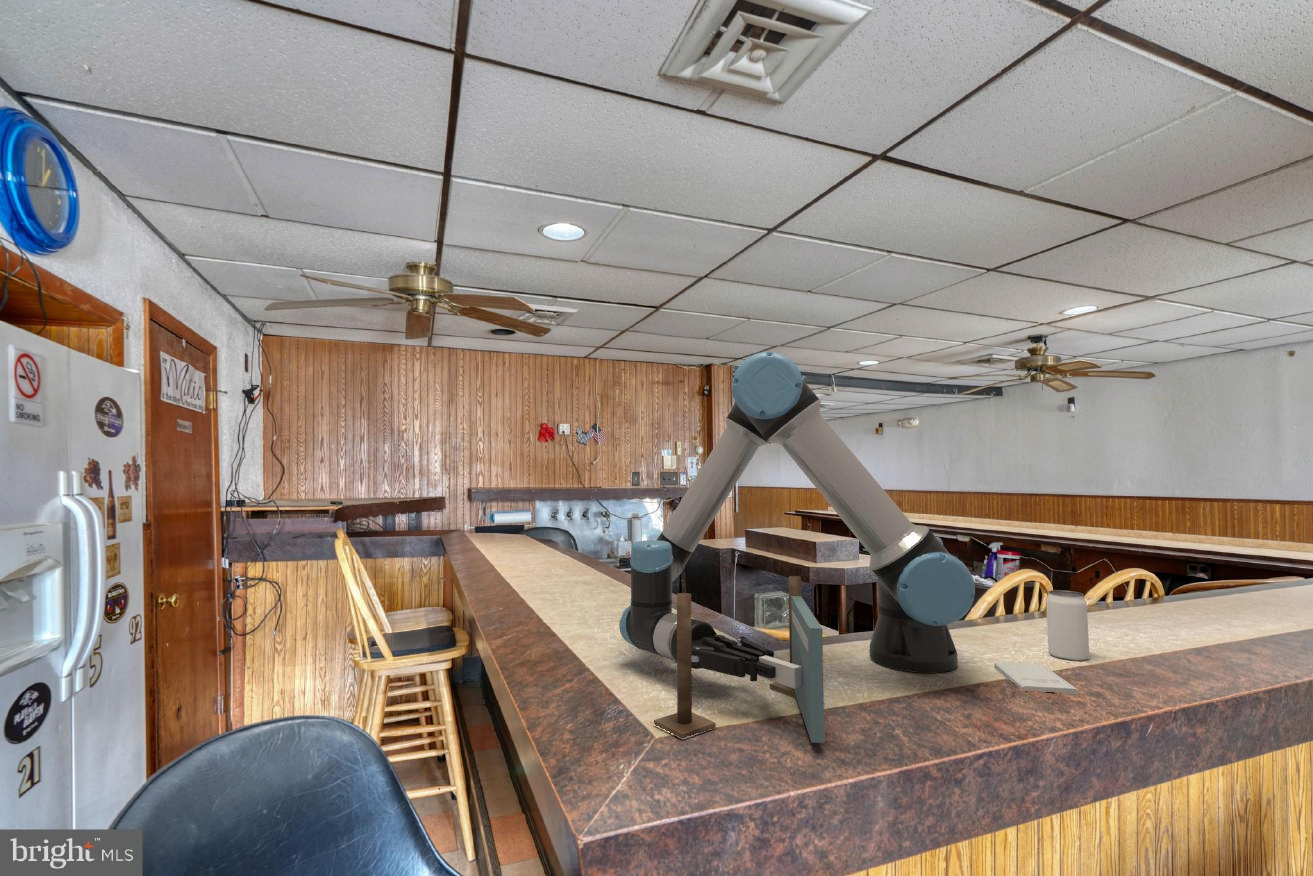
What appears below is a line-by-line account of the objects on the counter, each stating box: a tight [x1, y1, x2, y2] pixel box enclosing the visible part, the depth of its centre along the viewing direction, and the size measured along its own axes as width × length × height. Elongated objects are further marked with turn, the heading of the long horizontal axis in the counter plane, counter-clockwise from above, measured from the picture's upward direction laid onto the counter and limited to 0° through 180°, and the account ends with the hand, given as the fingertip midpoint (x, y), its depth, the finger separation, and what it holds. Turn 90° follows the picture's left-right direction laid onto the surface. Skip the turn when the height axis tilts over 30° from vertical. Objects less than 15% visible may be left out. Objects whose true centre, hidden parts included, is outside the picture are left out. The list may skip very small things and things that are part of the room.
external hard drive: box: [994, 661, 1080, 695], centre depth 102 cm, size 2×8×12 cm
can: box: [1045, 589, 1090, 662], centre depth 116 cm, size 6×6×12 cm
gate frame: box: [653, 575, 824, 738], centre depth 91 cm, size 30×6×18 cm, turn 128°
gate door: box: [791, 595, 826, 744], centre depth 86 cm, size 21×2×14 cm, turn 174°
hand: (797, 677), depth 83 cm, fingers closed
